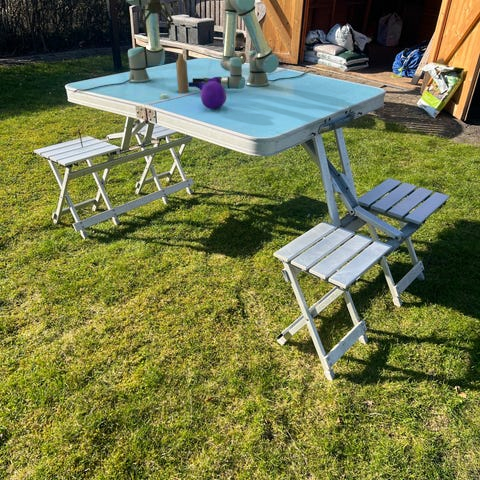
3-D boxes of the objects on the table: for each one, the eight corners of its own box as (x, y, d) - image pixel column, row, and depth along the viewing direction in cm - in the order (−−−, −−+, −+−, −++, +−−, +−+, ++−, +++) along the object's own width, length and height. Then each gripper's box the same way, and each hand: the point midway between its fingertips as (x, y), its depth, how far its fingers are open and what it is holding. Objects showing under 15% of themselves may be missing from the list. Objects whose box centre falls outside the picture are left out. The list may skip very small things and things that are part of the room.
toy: (213, 100, 281) (226, 115, 260) (186, 95, 274) (197, 111, 253) (219, 74, 273) (233, 88, 252) (191, 69, 266) (203, 83, 245)
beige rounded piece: (226, 72, 363) (226, 52, 355) (220, 70, 372) (219, 50, 364) (249, 69, 372) (249, 50, 365) (242, 67, 381) (241, 48, 373)
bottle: (190, 91, 306) (188, 54, 294) (183, 93, 301) (180, 55, 289) (183, 90, 310) (180, 53, 298) (176, 92, 305) (172, 54, 293)
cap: (159, 97, 291) (159, 94, 290) (165, 96, 293) (164, 93, 292) (162, 98, 288) (162, 95, 287) (168, 97, 291) (168, 94, 290)
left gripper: (131, -4, 258) (136, 36, 269) (174, -5, 258) (177, 35, 269) (133, -4, 265) (138, 35, 275) (175, -5, 265) (178, 34, 276)
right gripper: (219, 92, 291) (187, 92, 293) (224, 84, 312) (194, 84, 314) (218, 80, 287) (186, 80, 289) (224, 73, 308) (193, 73, 311)
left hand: (157, 35), depth 272 cm, fingers open, 13 cm apart
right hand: (190, 82), depth 302 cm, fingers open, 13 cm apart
